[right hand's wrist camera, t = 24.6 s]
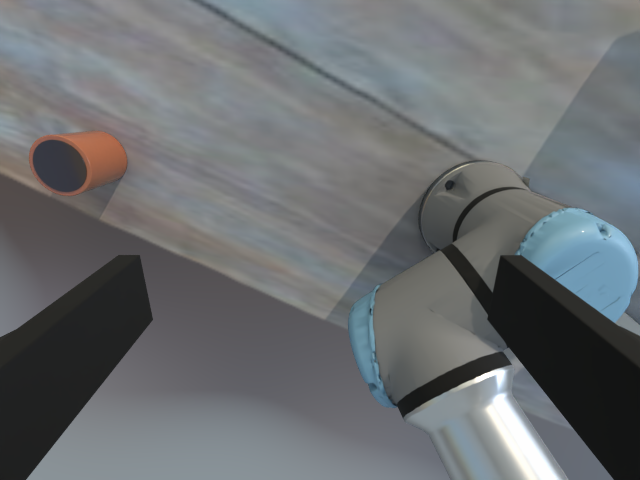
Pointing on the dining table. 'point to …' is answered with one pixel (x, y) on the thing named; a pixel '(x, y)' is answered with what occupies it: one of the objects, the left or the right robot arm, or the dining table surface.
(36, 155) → the terracotta pot
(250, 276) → the dining table surface
